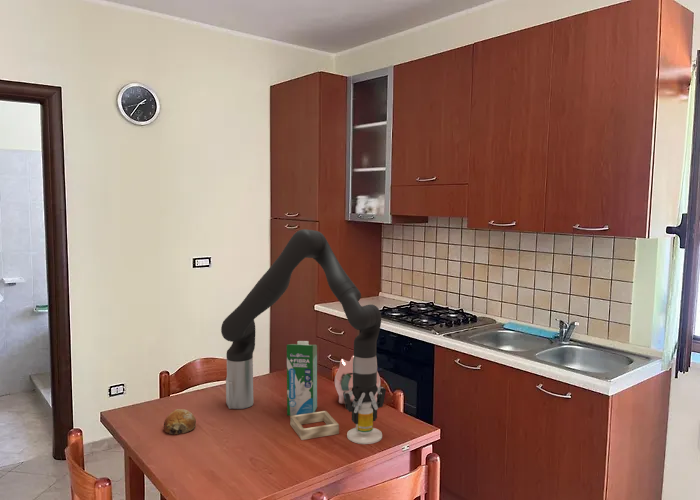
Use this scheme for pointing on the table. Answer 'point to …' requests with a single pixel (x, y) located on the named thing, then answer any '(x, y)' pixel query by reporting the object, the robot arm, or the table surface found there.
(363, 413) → the supplement bottle
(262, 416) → the table surface
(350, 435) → the coaster
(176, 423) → the bread roll
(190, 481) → the table surface
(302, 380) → the milk carton
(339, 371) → the piggy bank
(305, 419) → the frame
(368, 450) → the table surface
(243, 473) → the table surface
